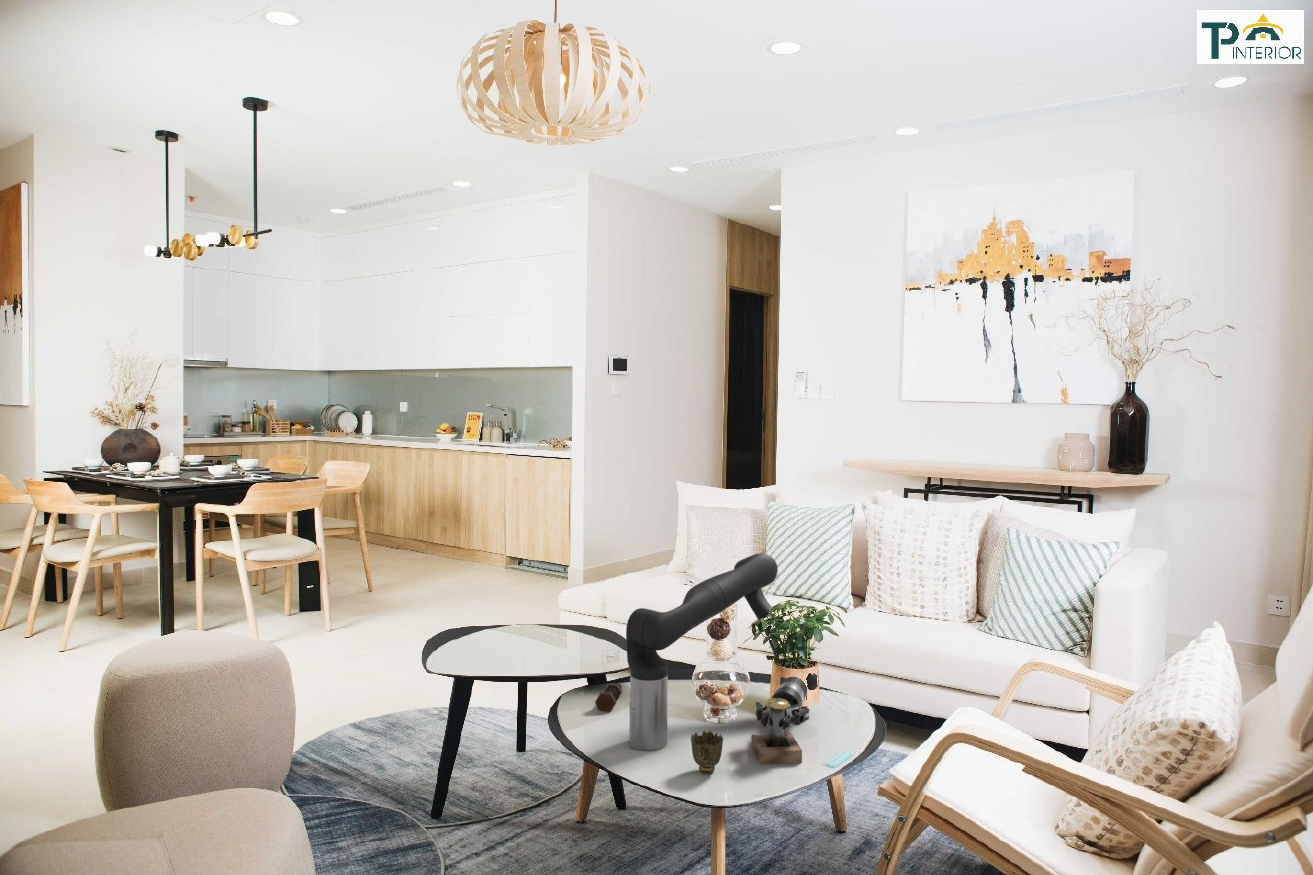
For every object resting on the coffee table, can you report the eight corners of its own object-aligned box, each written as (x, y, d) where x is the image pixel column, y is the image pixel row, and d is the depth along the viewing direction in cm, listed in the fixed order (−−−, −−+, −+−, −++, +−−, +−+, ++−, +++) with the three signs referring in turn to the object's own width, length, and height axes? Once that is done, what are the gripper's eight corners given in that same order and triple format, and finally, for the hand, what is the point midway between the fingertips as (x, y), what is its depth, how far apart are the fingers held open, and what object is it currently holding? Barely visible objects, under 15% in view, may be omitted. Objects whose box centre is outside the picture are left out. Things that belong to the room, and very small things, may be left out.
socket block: (759, 764, 207) (760, 751, 207) (751, 747, 217) (751, 735, 217) (801, 762, 208) (802, 750, 208) (791, 745, 218) (791, 733, 217)
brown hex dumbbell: (619, 700, 255) (607, 717, 240) (604, 690, 256) (591, 706, 241) (629, 683, 255) (618, 699, 240) (614, 674, 255) (602, 689, 240)
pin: (767, 759, 209) (768, 705, 209) (763, 751, 215) (764, 698, 214) (789, 759, 210) (790, 705, 209) (784, 750, 215) (785, 697, 215)
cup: (699, 780, 198) (699, 745, 197) (685, 767, 205) (685, 733, 204) (728, 774, 201) (729, 740, 200) (713, 762, 208) (714, 729, 207)
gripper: (760, 683, 227) (744, 705, 211) (815, 689, 223) (804, 712, 207) (759, 711, 228) (744, 735, 212) (815, 718, 223) (804, 743, 207)
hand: (774, 724), depth 209 cm, fingers open, 4 cm apart
